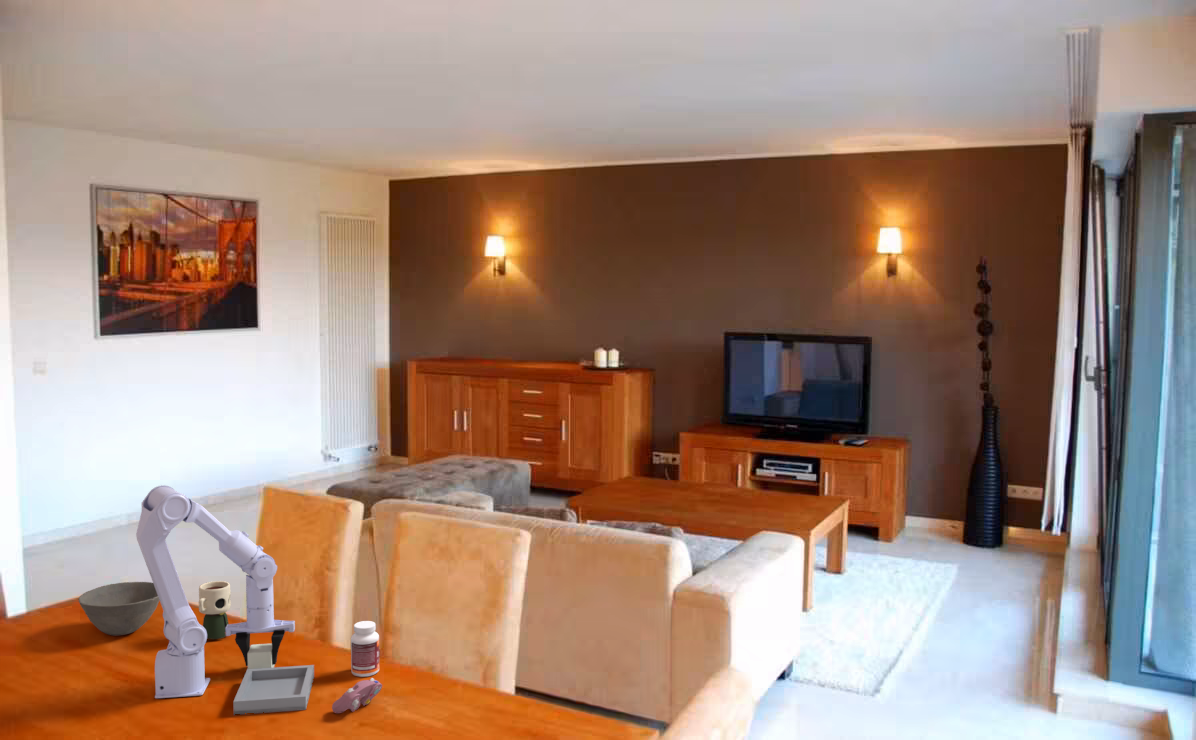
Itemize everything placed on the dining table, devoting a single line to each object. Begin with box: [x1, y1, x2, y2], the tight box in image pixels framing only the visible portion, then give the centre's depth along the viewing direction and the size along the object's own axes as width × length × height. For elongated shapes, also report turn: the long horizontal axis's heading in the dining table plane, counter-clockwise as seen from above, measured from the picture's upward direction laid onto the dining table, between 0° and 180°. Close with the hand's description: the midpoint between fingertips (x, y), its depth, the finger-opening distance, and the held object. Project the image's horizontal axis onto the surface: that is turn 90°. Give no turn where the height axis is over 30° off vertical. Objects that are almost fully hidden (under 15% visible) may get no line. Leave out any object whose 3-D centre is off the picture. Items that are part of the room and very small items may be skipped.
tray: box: [233, 664, 315, 716], centre depth 198 cm, size 14×16×3 cm
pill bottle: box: [350, 620, 380, 678], centre depth 210 cm, size 6×6×11 cm
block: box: [247, 643, 276, 669], centre depth 211 cm, size 5×5×5 cm
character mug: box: [198, 580, 232, 640], centre depth 229 cm, size 11×7×13 cm, turn 164°
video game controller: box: [331, 677, 383, 714], centre depth 193 cm, size 10×5×7 cm, turn 148°
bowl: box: [78, 581, 160, 637], centre depth 232 cm, size 19×19×10 cm
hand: (261, 663), depth 211 cm, fingers closed on block, 5 cm apart
